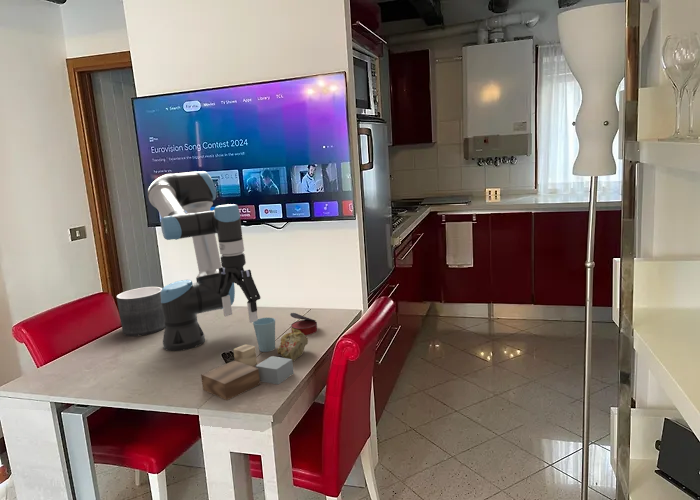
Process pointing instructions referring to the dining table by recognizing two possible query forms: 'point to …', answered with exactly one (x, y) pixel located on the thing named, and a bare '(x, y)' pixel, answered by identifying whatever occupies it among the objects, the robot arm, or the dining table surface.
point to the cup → (265, 333)
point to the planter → (141, 311)
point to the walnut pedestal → (230, 379)
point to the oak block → (245, 355)
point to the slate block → (275, 369)
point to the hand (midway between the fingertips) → (240, 318)
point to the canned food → (303, 325)
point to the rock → (292, 345)
